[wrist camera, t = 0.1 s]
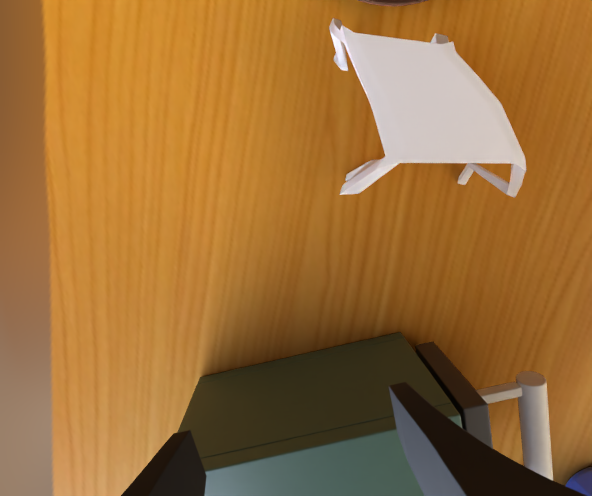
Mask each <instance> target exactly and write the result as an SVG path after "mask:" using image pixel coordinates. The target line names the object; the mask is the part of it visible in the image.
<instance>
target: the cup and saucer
mask: <svg viewBox="0 0 592 496" xmlns="http://www.w3.org/2000/svg"><path fill="white" fill-rule="evenodd" d="M358 1H362V2H365V3H369V4H374V5H380V6H405V5H411V4H416V3H420V2H423V1H427V0H358Z"/></svg>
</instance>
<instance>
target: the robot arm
mask: <svg viewBox="0 0 592 496" xmlns="http://www.w3.org/2000/svg"><path fill="white" fill-rule="evenodd" d="M389 391H390V396H391V402H392V407H393V412H394V417H395V423H396V428H397V433H398V436H399V439H400V442H401V444H402V447H403V450H404V452H405V455H406V458H407V460H408V463H409V465H410V467H411V469H412V471H413V473H414V475H415V477H416V479H417V481H418V483H419V485H420V488H421V490H422V492H423V494H424V496H587V495H585V494H582V493H580V492H578V491H575V490H573V489H571V488H568V487H566V486H564V485H561V484H559V483H557V482H555V481H553V480H551V479H548V478H546V477H544V476H542V475H540V474H538V473H536V472H534V471H532V470H530V469H528V468H527V467H525V466H523V465H521V464H519V463H517V462H515V461H513V460H511V459H509V458H508V457H506V456H504V455H503V454H501V453H499V452H498V451H496V450H494V449H493V448H491V447H489V446H488V445H486V444H485V443H483V442H482V441H480V440H479V439H477V438H476V437H474V436H473V435H471V434H470V433H468V432H467V431H466V430H464V429H463V428H461V427H460V426H459V425H457V424H456V423H455V422H453V421H452V420H451V419H449V418H448V417H447V416H446V415H444V414H443V413H442V412H440V411H439V410H438V409H437V408H436V407H434V406H433V405H432V404H431V403H430V402H428V401H427V400H426V399H425V398H424V397H423V396H421V395H420V394H419V393H418V392H417V391H416V390H415V389H414V388H413V387H412V386H410V385H409V384H408V383H407V382H402V383H398V384H393V385H389ZM206 477H207V476H206V473H205V470H204V467H203V464H202V462H201V459H200V456H199V453H198V450H197V448H196V445H195V442H194V439H193V436H192V433H191V431H190V430H188V431H183V432H179V433H174V434H173V435H172V436H171V437H170V438H169V439H168V441H167V442H166V443H165V444H164V445H163V447H162V448H161V449H160V450H159V451H158V453H157V454H156V455H155V456H154V457H153V459H152V460H151V461H150V462H149V463H148V465H147V466H146V467H145V468H144V469H143V471H142V472H141V473H140V474H139V475H138V477H137V478H136V479H135V480H134V481H133V483H132V484H131V485H130V486H129V487H128V488H127V489H126V491H125V492H124V493H123V494H122V495H121V496H204V494H205V485H206Z"/></svg>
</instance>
